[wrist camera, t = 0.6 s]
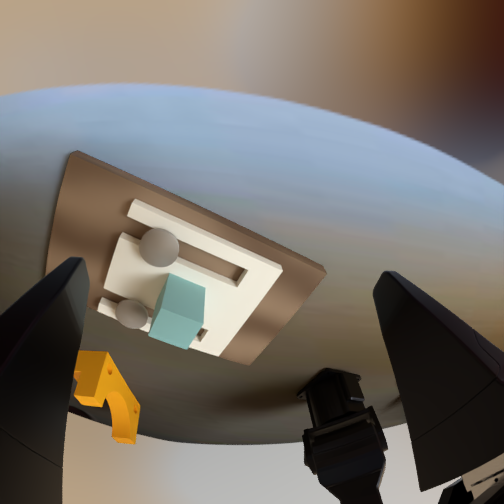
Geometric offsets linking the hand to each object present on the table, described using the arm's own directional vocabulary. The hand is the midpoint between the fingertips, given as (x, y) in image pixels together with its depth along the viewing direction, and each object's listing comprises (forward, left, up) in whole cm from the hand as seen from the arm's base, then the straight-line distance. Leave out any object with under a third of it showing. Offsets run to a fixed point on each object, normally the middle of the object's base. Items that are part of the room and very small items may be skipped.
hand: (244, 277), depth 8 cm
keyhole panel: (-10, -1, -12) cm, 16 cm away
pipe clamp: (-30, +2, -14) cm, 33 cm away
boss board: (-10, 0, -14) cm, 17 cm away
